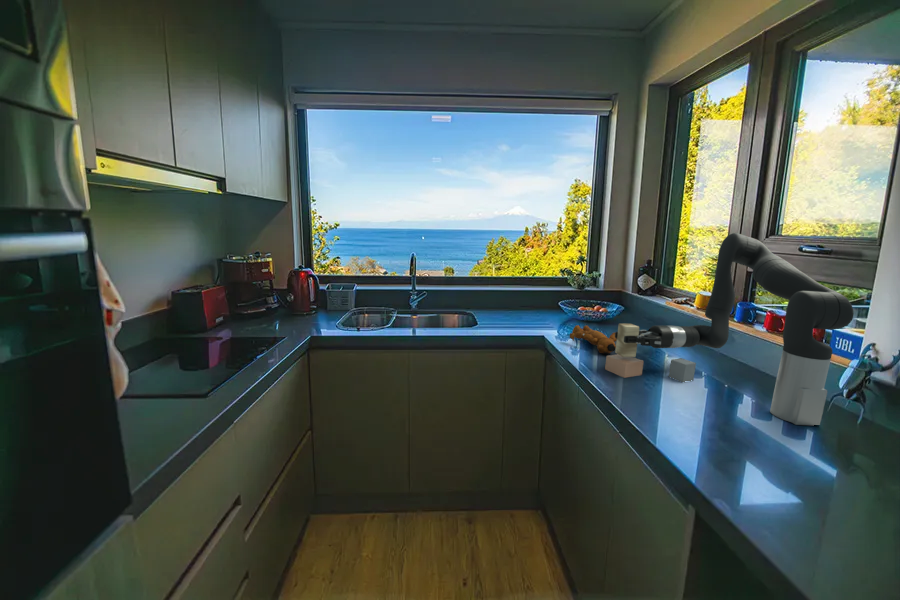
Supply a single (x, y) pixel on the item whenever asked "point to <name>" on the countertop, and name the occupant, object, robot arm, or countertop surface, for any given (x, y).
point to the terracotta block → (624, 365)
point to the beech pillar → (621, 346)
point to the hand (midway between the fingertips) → (620, 337)
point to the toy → (595, 338)
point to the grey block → (682, 370)
